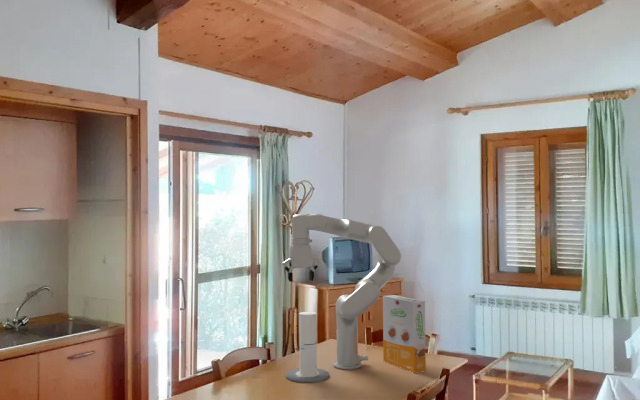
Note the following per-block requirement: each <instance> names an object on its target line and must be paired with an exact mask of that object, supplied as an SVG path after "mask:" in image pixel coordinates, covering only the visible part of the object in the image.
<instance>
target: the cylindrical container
mask: <svg viewBox="0 0 640 400" xmlns="http://www.w3.org/2000/svg"><path fill="white" fill-rule="evenodd" d="M298 325H299V327H298V329H299V331H298V334H299V369H300V374H301V375H305V376H310V375H315V374H317V369H318V368H317V367H318V366H317V362H318V360H317V356H318V355H317V353H318V352H317V312H315V311H302V312H299V323H298Z"/></svg>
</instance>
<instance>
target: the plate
mask: <svg viewBox="0 0 640 400" xmlns="http://www.w3.org/2000/svg"><path fill="white" fill-rule="evenodd" d="M329 377H330V373H329V371H327V370H325V369H323V368H322V369H321V368H317V374H315V375H310V376H305V375H301V374H300V368H295V369H291V370H289V371H287V372H286V373H285V378H286V379H287V380H288V381H291V382H294V383H303V384H304V383H305V384H309V383H319V382H324V381H326V380H328V379H329Z"/></svg>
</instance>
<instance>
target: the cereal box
mask: <svg viewBox="0 0 640 400" xmlns="http://www.w3.org/2000/svg"><path fill="white" fill-rule="evenodd" d="M382 328H383V329H382V333H383V335H382V336H383V337H382V339H383V342H382V344H383V345H382V347H383V351H382V352H383V358H382V359H383V360H382V361H383V362H384V361H385V363H387V362H388V363H387V364H389V363H390V364H389V365H392V364H393V365H392V366H394V365H395V367H397V366H398V367H397V368H399V367H401V368H400V369H402V368H403V369H402V370H404V369H405V370H404V371H407V370H408V371H407V372H409V371H411V372H410V373H412V372H413V373H412V374H417V373H416V372H419V373H423V372H422V371H425V372H426V371H427V370H426V369H427V368H426V366H427V365H426V359H427V358H426V301H425V300H421V299H416V298H412V297H411V298H410V297H406V296H401V295H397V294H388V295H387V294H386V295H383V296H382Z"/></svg>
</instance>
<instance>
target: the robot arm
mask: <svg viewBox="0 0 640 400" xmlns="http://www.w3.org/2000/svg"><path fill="white" fill-rule="evenodd" d="M291 219H292V231H291V232H292V235H291V236H292V239H291V240H292V245H290V248H289V252H288V253H289V254H288V259H285V260H284V261H282V263H281V265H282V267H283V269H284V270H285V271H286V272H287V280H288V282H290V283H291V282H293V281H294V280H293V279H294V278H293V276H294V275H293V272H292V271H294V269H307V268H308V270H309V271H308V277H309V278H308V279H309V281H314V279H315V271H316V270H317V268H318V267H319V265H320V261H319V260H317V259H316V258H314V257H313V250H312V246H311V245H312V244H311V243H313V239H311V238H310V231H316V232H320V233H325V234H330V235H335V236H338V237H340V238H344V239H348V240H352V241H358V242H362V243H365V244H370V245H371V244H372V247H373V248H374V249H375V250H376V253H377V263H376V266H375V267H374V269H372V271H370V272H369V273H368V274H367V275H365V276H364V277H363V278H362V279H360V280H359V281H358V283H356V285H355V287H354V292H352V293H351V294H348V293H346V294H342V295H340V296H339V297H338V298H337V300H336V302H335V317H336V318H335V320H336V361H334V362H333V363H332V364H333V365H332V366H333V367H334V368H336V369H340V370H356V369H360V368H361V367H362V362H363V361H368V360H369V357H368V355H359V322H358V321H359V320H358V318H359V317H360V316H362V315H363V314H364V313H366V311H367V310H368V309H370V307H372V306H373V305H374V304H375V303H376V302H377V301H378V299H379V298H380V296H381V289H382V288H384V287H385V286H386V285H387V283H389V282H390V281H391V279H392V278H393V276H394V273H395V270H396V265H398V264H400V262H401V259H402V254H401V251H400V249H399V248H398V246H397V244H396V243H395V242H394V241H393V239H392V237H390V235H389V233H388V232H387V231H386V229H385V228H384V227H383V226H381V225H374V224H371V223H365V222H361V221H357V220H352V219H348V218H347V219H346V218H338V217H337V218H336V217H330V216H326V215H323V214H321V213H315V214H294V215H293V216H292V218H291ZM287 264H288V266H287Z"/></svg>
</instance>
